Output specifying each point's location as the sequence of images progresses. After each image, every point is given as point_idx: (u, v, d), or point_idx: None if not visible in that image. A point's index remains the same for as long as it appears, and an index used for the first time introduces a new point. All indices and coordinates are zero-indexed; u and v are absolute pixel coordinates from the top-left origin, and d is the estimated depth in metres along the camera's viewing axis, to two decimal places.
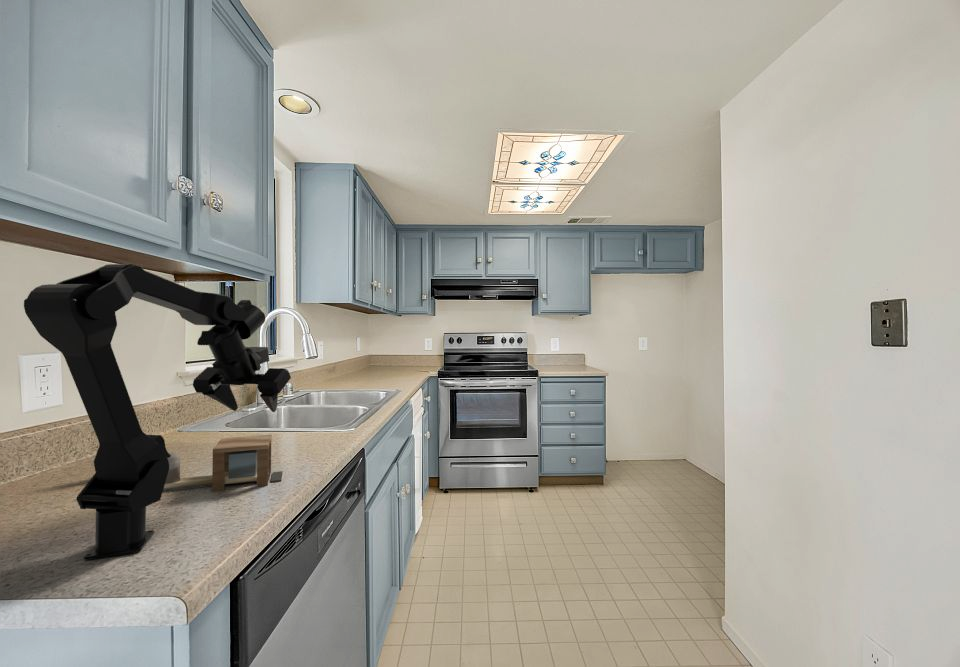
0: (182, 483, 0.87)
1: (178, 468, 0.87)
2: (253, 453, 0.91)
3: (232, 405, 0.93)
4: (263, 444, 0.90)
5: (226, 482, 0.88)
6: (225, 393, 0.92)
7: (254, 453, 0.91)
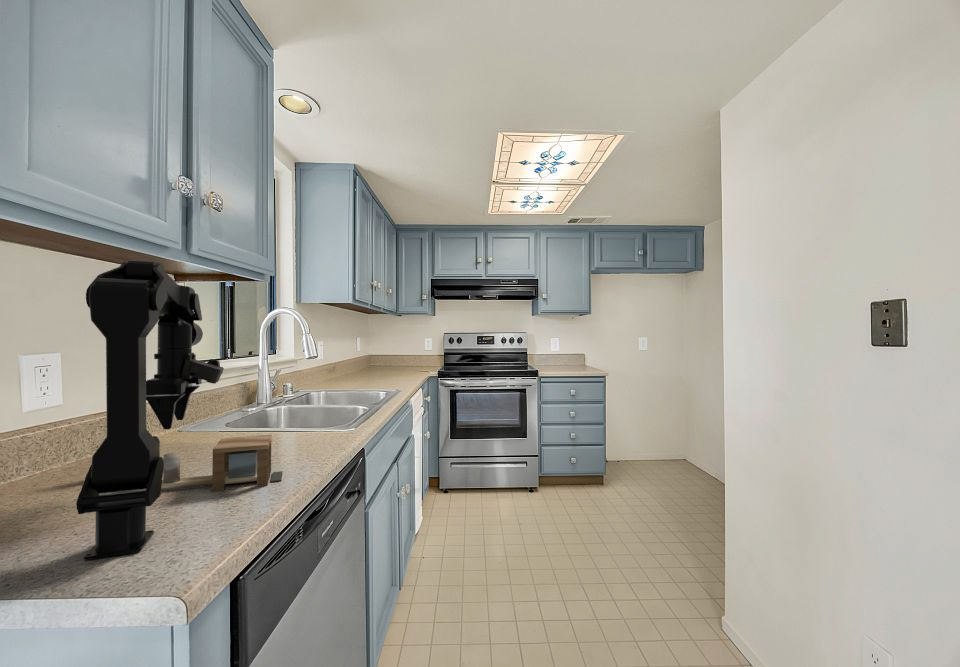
0: (182, 483, 0.87)
1: (178, 468, 0.87)
2: (253, 453, 0.91)
3: (176, 412, 0.91)
4: (263, 444, 0.90)
5: (226, 482, 0.88)
6: None
7: (254, 453, 0.91)
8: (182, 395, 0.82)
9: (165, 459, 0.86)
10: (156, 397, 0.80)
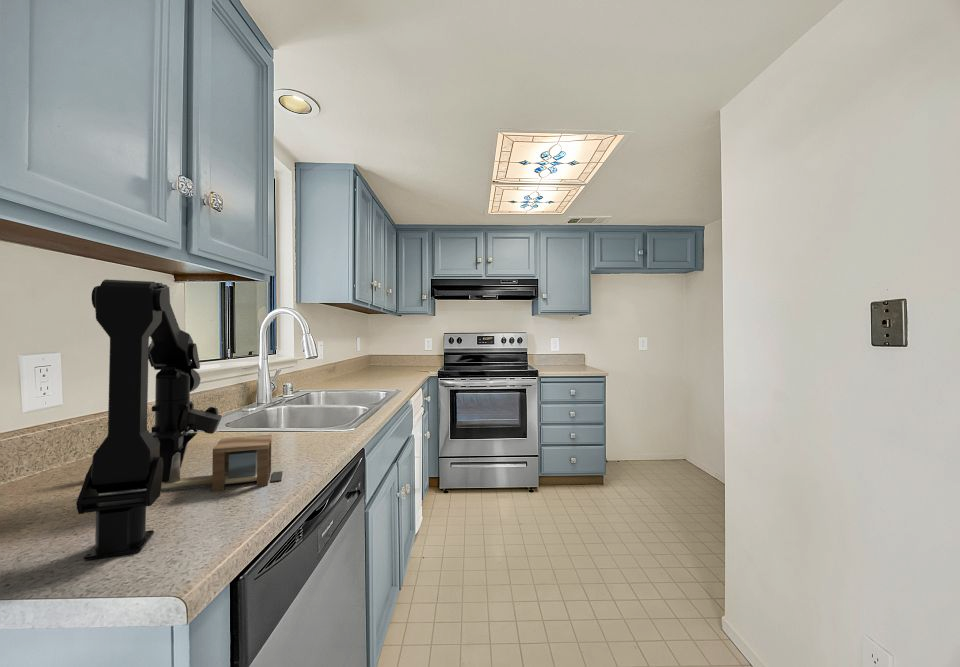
0: (182, 483, 0.87)
1: (178, 468, 0.87)
2: (253, 453, 0.91)
3: None
4: (263, 444, 0.90)
5: (226, 482, 0.88)
6: None
7: (254, 453, 0.91)
8: (180, 448, 0.82)
9: None
10: None
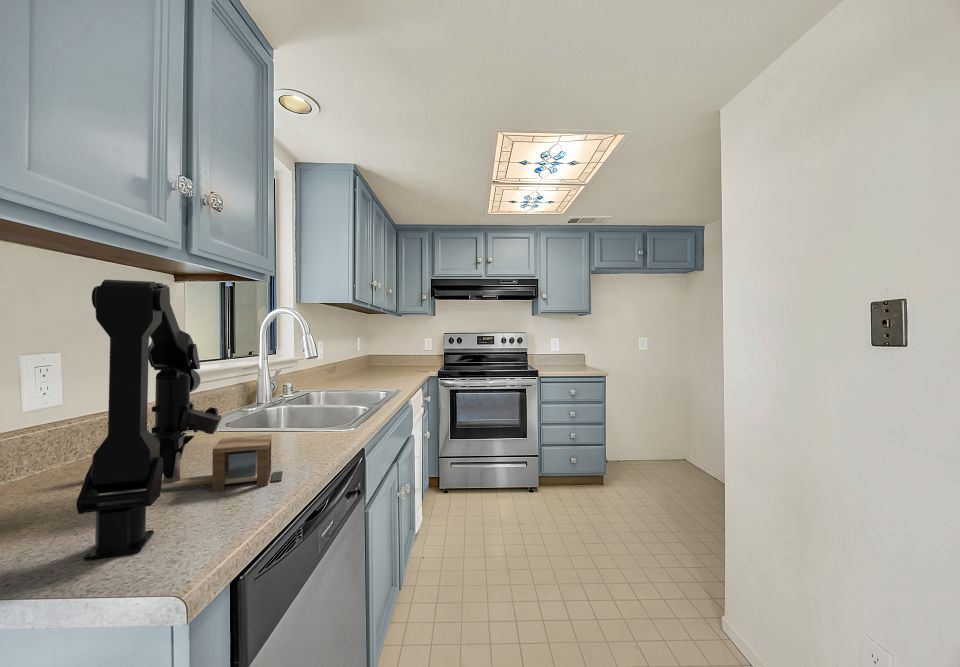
0: (182, 483, 0.87)
1: (178, 468, 0.87)
2: (253, 453, 0.91)
3: None
4: (263, 444, 0.90)
5: (226, 482, 0.88)
6: None
7: (254, 453, 0.91)
8: (184, 445, 0.84)
9: None
10: None
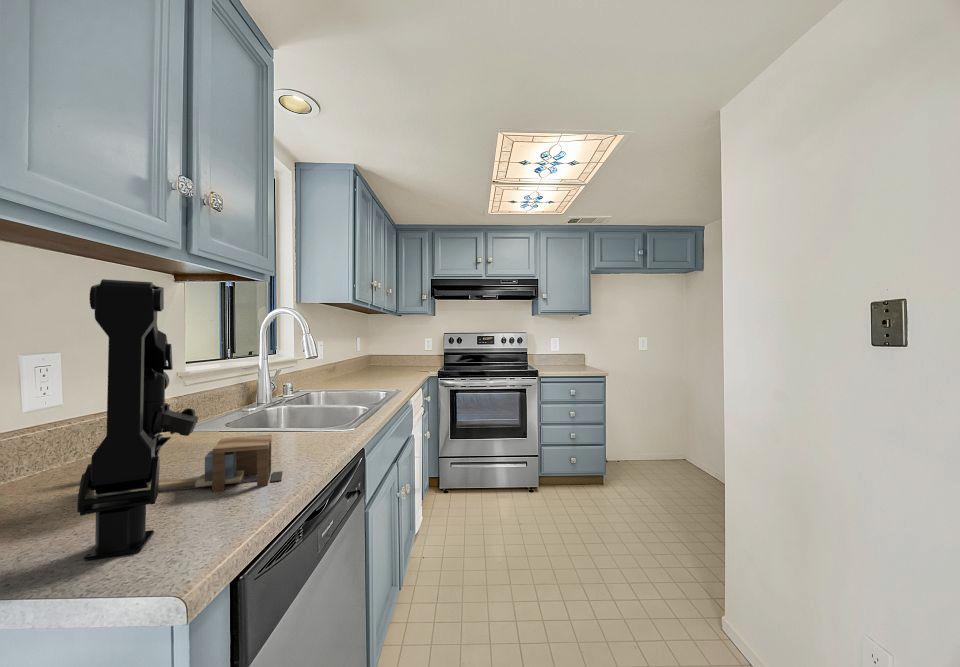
0: None
1: None
2: (230, 455, 0.89)
3: None
4: (263, 444, 0.90)
5: (202, 485, 0.87)
6: None
7: (231, 455, 0.89)
8: (157, 448, 0.83)
9: None
10: None
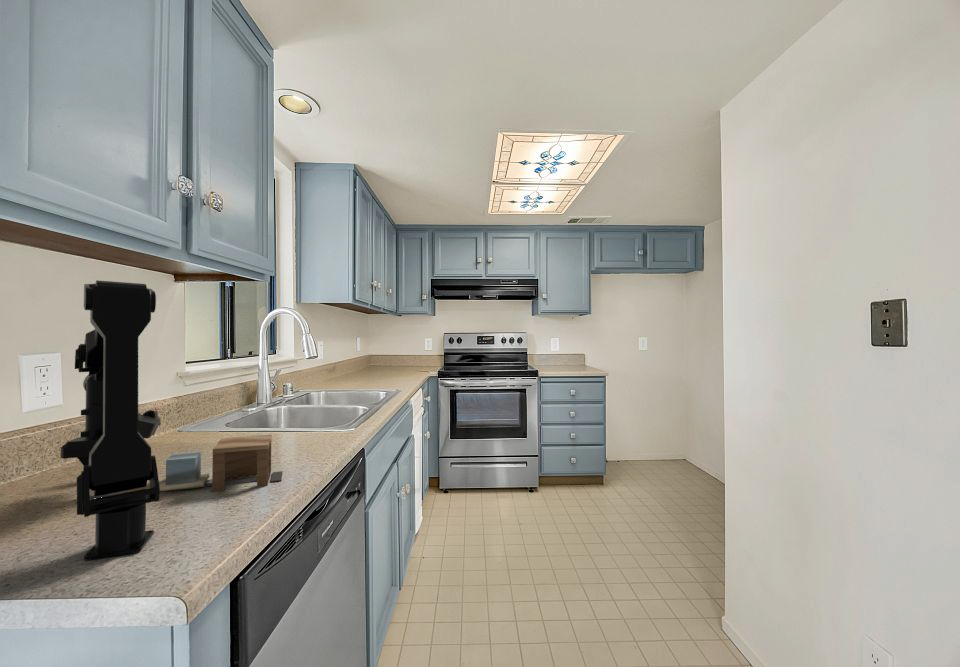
0: None
1: None
2: (193, 458, 0.86)
3: None
4: (263, 444, 0.90)
5: (162, 489, 0.84)
6: None
7: (194, 458, 0.87)
8: None
9: None
10: None
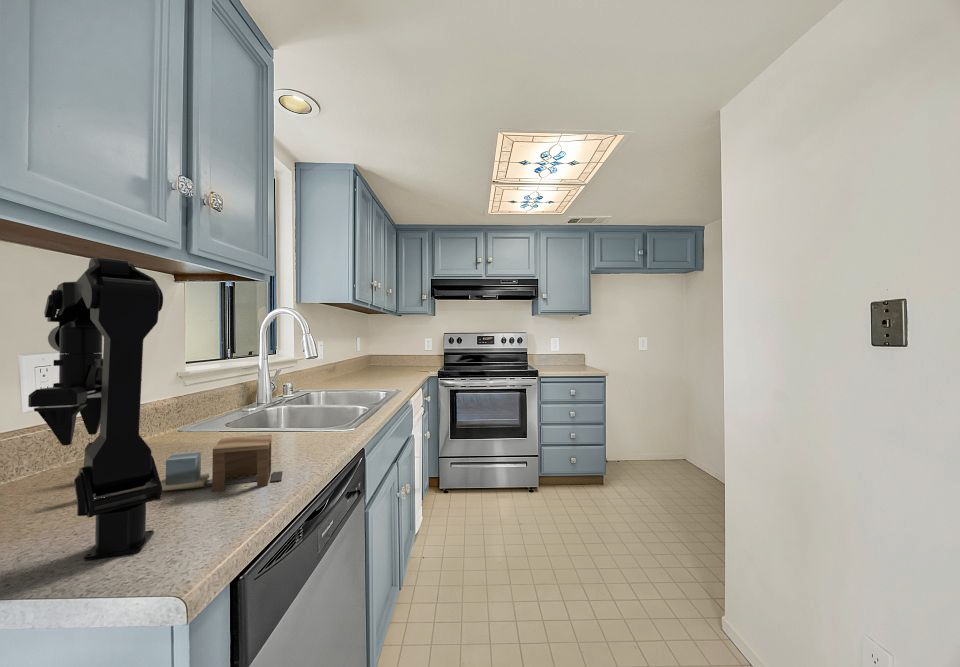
0: None
1: None
2: (192, 458, 0.86)
3: (88, 425, 0.81)
4: (263, 444, 0.90)
5: (162, 489, 0.84)
6: (90, 408, 0.82)
7: (194, 458, 0.87)
8: (81, 406, 0.72)
9: None
10: (48, 409, 0.70)
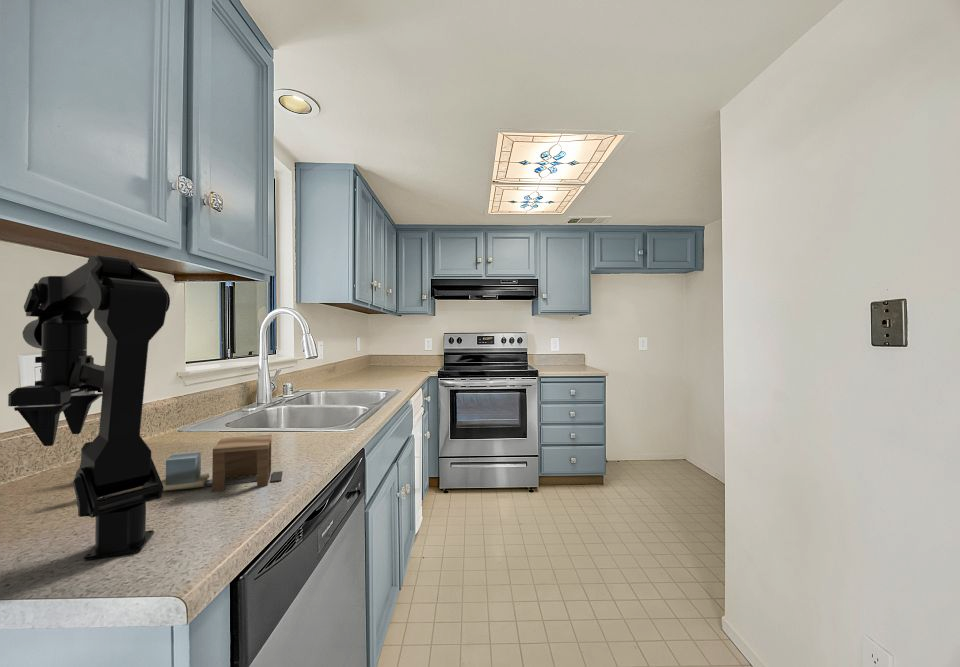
0: None
1: None
2: (192, 458, 0.86)
3: (72, 425, 0.78)
4: (263, 444, 0.90)
5: None
6: (74, 406, 0.79)
7: (194, 458, 0.87)
8: (64, 405, 0.69)
9: None
10: (29, 408, 0.67)
